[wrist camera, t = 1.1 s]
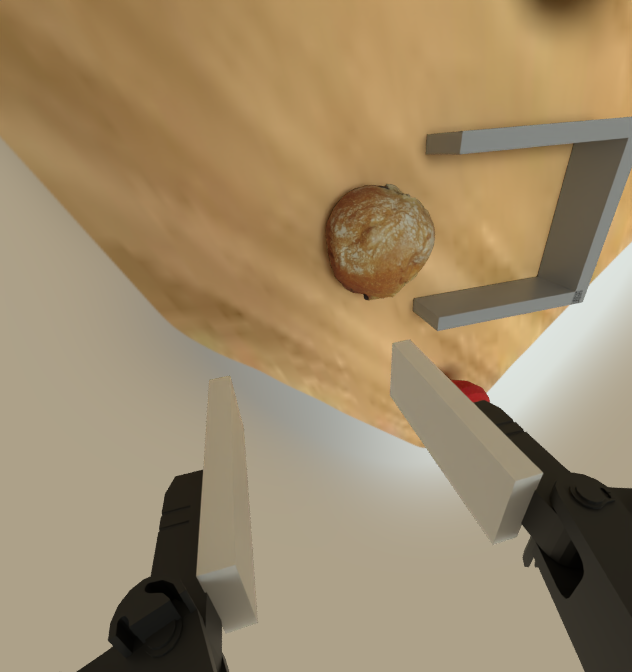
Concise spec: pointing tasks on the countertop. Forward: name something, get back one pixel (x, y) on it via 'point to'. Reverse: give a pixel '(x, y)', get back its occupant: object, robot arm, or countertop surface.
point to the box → (567, 226)
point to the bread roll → (378, 240)
